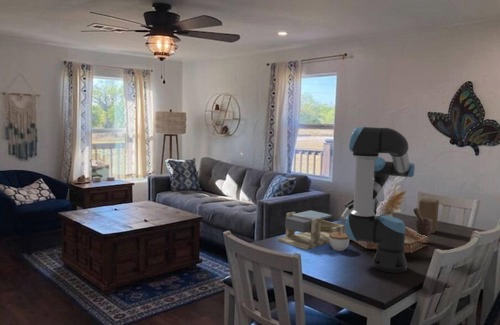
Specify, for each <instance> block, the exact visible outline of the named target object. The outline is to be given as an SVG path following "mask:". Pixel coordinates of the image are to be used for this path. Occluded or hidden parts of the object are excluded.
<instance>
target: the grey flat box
mask: <svg viewBox="0 0 500 325" xmlns="http://www.w3.org/2000/svg"><path fill="white" fill-rule="evenodd" d="M332 217H333V215H332V214H329V213H324V212H320V211H316V210H311V209H310V210H306V211H302V212H297V213H296V214H293V213H292V217H288V218H286V217H284V218H285V219H284V221H285V222H284V228H285V229H286V228H287V229H291V230H294V231H295V232H298V233H305V232H309V231H311V224H312V219H315V218H321V220H325V219H328V218H332Z"/></svg>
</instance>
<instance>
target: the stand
mask: <svg viewBox="0 0 500 325" xmlns="http://www.w3.org/2000/svg"><path fill="white" fill-rule="evenodd" d="M292 213H293V214H296V211H291V212H287V213H286V216H285V218H288V217H292ZM332 232H342V233H346V228H345V224H341V223H336V222H334V221H328V220H325V219H321V218H315V219H312V224H311V231H309V232H305V233H301V232H298V233H296V231H294V230H291V229H287V228H285V236H282V237H281V236H280V237H278V238H277V241H278V242H281V243H282V244H283V243H284V244H285V245H286V244H287V245H290V246H293V247H295V248H298V249H302V250H305V251H307V250H311V249H313V248H317V247H319V246H324V245H325V244H330V242H329V234H330V233H332Z"/></svg>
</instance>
